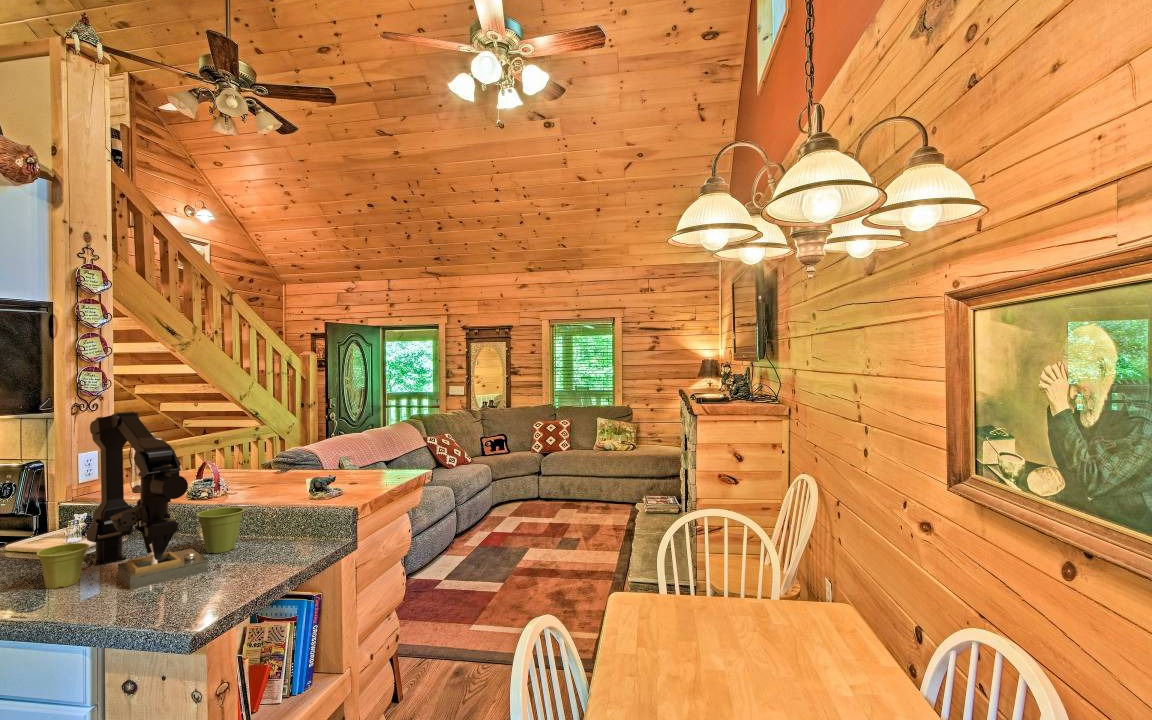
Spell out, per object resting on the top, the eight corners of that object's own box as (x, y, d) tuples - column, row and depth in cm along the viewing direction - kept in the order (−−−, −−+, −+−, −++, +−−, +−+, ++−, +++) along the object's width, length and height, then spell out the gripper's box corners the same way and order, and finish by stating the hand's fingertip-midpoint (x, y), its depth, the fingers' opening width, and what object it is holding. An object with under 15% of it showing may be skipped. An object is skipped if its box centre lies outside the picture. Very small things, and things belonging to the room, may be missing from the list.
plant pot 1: (98, 577, 139) (99, 543, 140) (60, 592, 130) (60, 555, 130) (65, 576, 140) (65, 542, 140) (24, 591, 131) (25, 554, 131)
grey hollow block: (117, 575, 141) (117, 557, 141) (191, 559, 153) (191, 542, 153) (130, 589, 132) (130, 570, 132) (207, 571, 144) (207, 553, 144)
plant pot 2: (253, 547, 163) (253, 509, 164) (211, 559, 153) (211, 518, 153) (229, 541, 169) (229, 504, 169) (187, 553, 158) (187, 513, 159)
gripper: (106, 494, 141) (105, 556, 141) (122, 506, 129) (121, 573, 129) (159, 487, 150) (158, 545, 149) (179, 497, 137) (178, 560, 137)
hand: (153, 555), depth 141 cm, fingers open, 7 cm apart
